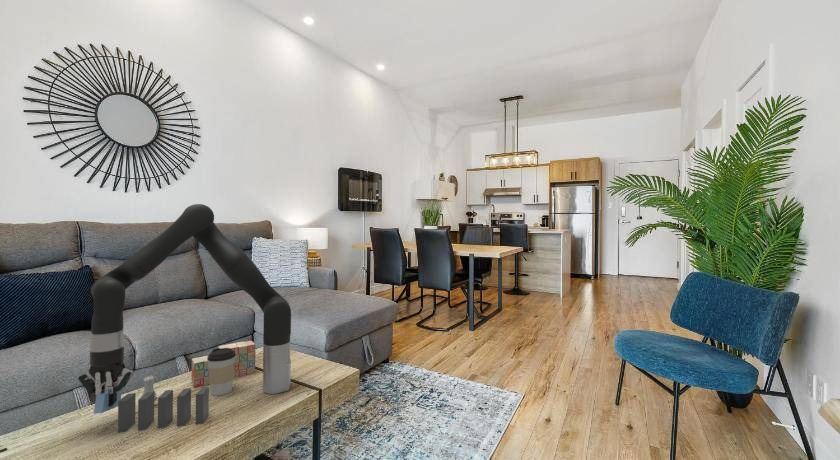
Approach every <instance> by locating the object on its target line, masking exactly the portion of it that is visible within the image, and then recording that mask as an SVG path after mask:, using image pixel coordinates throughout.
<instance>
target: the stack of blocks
mask: <svg viewBox="0 0 840 460" xmlns="http://www.w3.org/2000/svg"><path fill="white" fill-rule="evenodd" d="M217 348H219V349H221V348H231V349H232V350H233V351H235V354H236V356H235V368H234V379H236V378H242V377H245V376H251V375H254V374H256V355H257V354H256V353H257V352H256V343H254V341H252V340H247V341H246V340H245V341H239V342H233V343H228V344H222V345H218V346H217ZM207 358H208V355H204V356H201V357H195V358H194V357H193V358H191V383H192V386H193V388H198V387H203V386H207V385H210V383H209V373H208V360H207Z"/></svg>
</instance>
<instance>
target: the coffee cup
mask: <svg viewBox="0 0 840 460" xmlns="http://www.w3.org/2000/svg"><path fill="white" fill-rule="evenodd" d="M207 356H208V358H207V360H208V373H209V383H210V384H209V392H210V393H209V394H210V395H211V396H213V397H217V396H224V395H226V394H229V393H230V392H232V390H233V382H234V379H235V378H234V368H235V356H236V354H235V351H233V350H232V349H231V348H221V349H219V348H218V347H217V348H214V349H212V350H211V352H210V354H208V355H207ZM233 378H234V379H233Z"/></svg>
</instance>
